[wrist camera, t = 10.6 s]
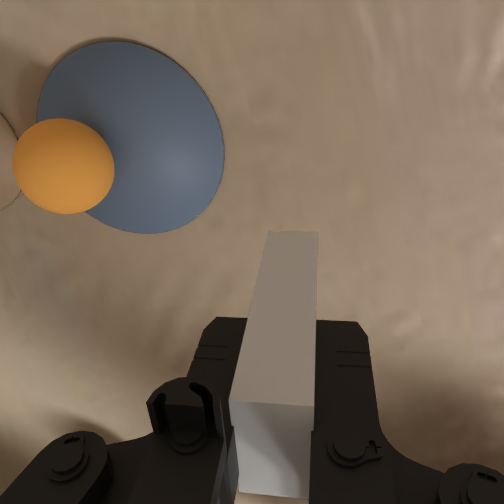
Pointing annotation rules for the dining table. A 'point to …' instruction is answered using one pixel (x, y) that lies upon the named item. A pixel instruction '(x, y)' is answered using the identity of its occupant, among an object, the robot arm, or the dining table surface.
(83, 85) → the disc
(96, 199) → the ball
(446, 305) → the dining table surface
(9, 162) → the disc
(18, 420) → the dining table surface
